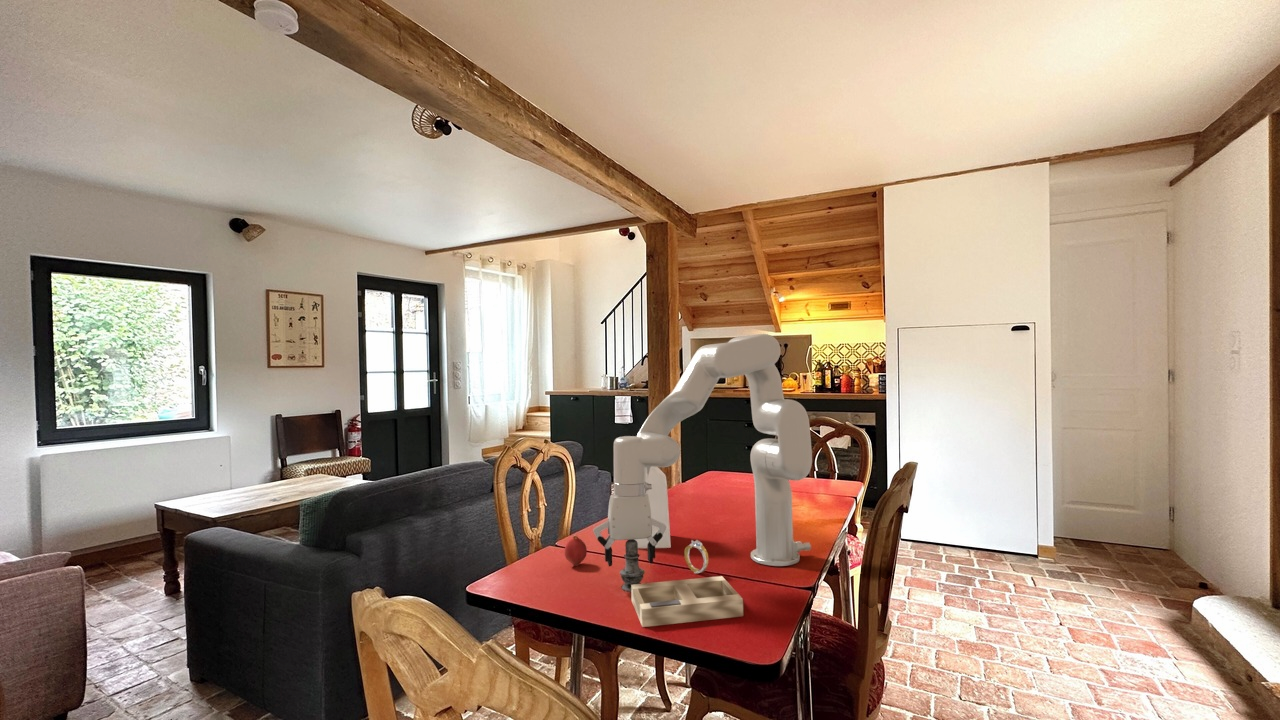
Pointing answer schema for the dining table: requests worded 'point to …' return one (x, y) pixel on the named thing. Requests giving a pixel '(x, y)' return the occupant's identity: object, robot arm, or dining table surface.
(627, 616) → the dining table surface
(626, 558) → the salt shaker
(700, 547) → the gemstone ring
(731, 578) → the dining table surface
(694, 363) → the robot arm
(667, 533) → the milk
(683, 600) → the wooden compartment tray
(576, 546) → the onion
